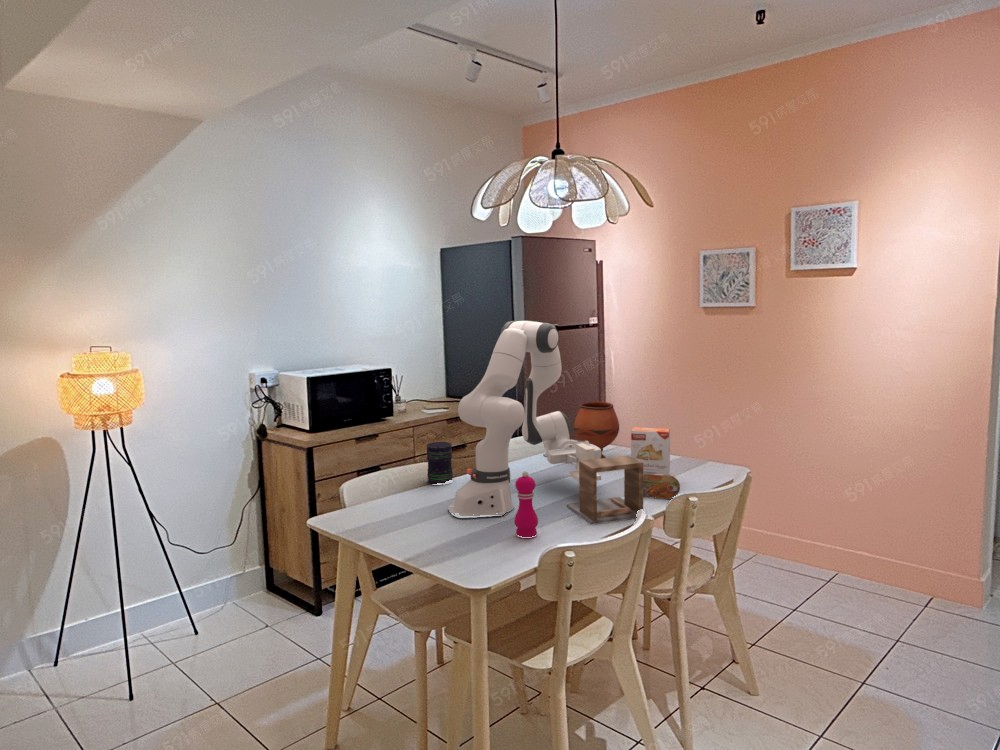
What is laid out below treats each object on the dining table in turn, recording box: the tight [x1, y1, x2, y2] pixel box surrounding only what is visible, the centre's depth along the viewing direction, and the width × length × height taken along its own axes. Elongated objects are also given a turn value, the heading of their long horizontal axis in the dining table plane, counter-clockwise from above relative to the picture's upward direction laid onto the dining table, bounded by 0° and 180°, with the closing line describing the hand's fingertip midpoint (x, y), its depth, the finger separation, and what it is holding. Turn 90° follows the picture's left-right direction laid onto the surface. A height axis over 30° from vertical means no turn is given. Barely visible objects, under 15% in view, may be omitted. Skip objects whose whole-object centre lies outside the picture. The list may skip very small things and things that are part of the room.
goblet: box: [573, 400, 620, 458], centre depth 289 cm, size 19×19×25 cm
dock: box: [566, 455, 644, 525], centre depth 227 cm, size 20×19×18 cm
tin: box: [643, 473, 681, 500], centre depth 241 cm, size 15×3×8 cm, turn 62°
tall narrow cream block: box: [569, 443, 602, 483], centre depth 241 cm, size 8×9×12 cm
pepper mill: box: [513, 470, 539, 537], centre depth 207 cm, size 7×7×20 cm
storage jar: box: [426, 441, 454, 486], centre depth 266 cm, size 10×10×15 cm
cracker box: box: [630, 426, 671, 475], centre depth 257 cm, size 14×6×21 cm, turn 71°
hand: (582, 459), depth 243 cm, fingers closed on tall narrow cream block, 3 cm apart
